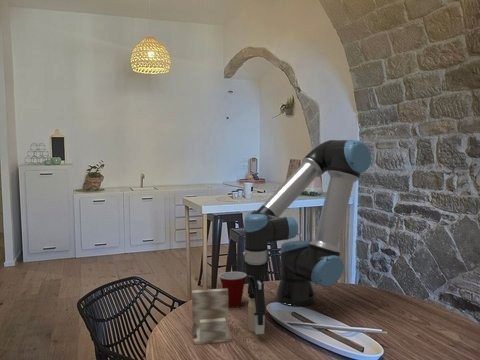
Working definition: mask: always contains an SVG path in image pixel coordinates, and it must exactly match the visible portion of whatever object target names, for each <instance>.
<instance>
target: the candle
mask: <svg viewBox="0 0 480 360" xmlns="http://www.w3.org/2000/svg"><path fill="white" fill-rule="evenodd" d="M247 303H248V304H247V319H248V320H247V327H248V328H247V329H248V331H249V332H251V333H255V315H254V313H256V306H255V299H253V300H251V301H250V302H249V301H248V302H247ZM265 316H266V315H264V330H265V326H266V325H265V324H266V323H265V322H266V321H265ZM255 334H256V333H255Z"/></svg>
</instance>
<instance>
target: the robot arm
mask: <svg viewBox="0 0 480 360" xmlns="http://www.w3.org/2000/svg"><path fill="white" fill-rule="evenodd" d="M371 158H372V157H371V152H370V150H369V148H368V146H367V144H366V143H365V142H363V141H361V140H355V139H349V140H348V139H345V140H344V139H343V140H341V139H339V140H338V139H337V140H336V139H331V140H327V141H324V142H321V143H320V144H318V145H317V146H316V147H314V148H313V149H312V150H310V151H309V153H308V154H307V155H306V156H304V158H302V160H301V164H300V165H299V166H298V167H297V168H296V170H294V172H293V173H292V174H291V175H290V176H289V177H288V178H286V180H285V181H284V182H283V183H282V184H281V185H280V186H279V187H278V189H276V190H275V191H274V193H273V194H272V195H271V196H270V197H269V198H268V199H267V200H266V201H265V202H264V203H263V204H262V205H261V206H260V207H259V208H258V209H257V210H251V211H248V212H247V214H245V217H244V221H243V222H244V225H243V226H244V227H243V233H244V235H243V237H244V239H243V241H244V252H242V255H243V256H244V261H245V262H244V273H245V274H247V276H248V285H247V295H248V303H249V302H250V301H251V300H253V299H255V306H256V313H254V315H255V335H264V334H265V329H264V315H265V316H266V315H267V313H266V312H267V311H266V303H265V301H266V300H265V289H264V288H265V283H264V281H263V279H262V277H264V276H265V275H267V274H268V259H269V258H268V255H269V254H268V243H272V242H278V241H279V242H280V241H285V242H283V243H282V244H281V246H280V253H279V254H280V281H279V283H278V287H277V290H276V295H275V296H276V298H275V299H276V300H277V302H279V303H281V304H282V303H286V304H291V305H296V306H295V307H304V306H309V305H312V304H314V302H315V301H316V294H315V291H314V288H313V284H314V285H317V286H318V285H319V286H321V287H325V288H326V287H327V288H328V287H331V286H334V285H335V283H337V282H338V281H339V280H340V279H341V277H342V275H343V273H344V268H345V267H344V264H343V260H342V259H341V257H340V255H341V250H340V248H339V242H340V239H341V234H342V231H343V226H344V222H345V219H346V214H347V210H348V207H349V202H350V198H351V194H352V191H353V187H354V183H356V182H357V181H359V180H360V177H361V174H363V173H365V172H366V171H367V170H368V169H369V168H370V165H371ZM326 172H327V173H328V175H329V182H328V186H327V189H326V192H325V193H326V194H325V197H324V202H323V205H322V209H321V213H320V217H319V221H318V224H317V229H316V232H315V236H314V239H313V240H312V241H308V240H290V239H294V238H295V237H297V235H298V232H299V225H298V222H297V220H296V219H295V218H294V217H292V216H283V217H281V216H282V214H283V213H284V212H285V211H286V210H287V209H288V208H289V207H290V206H291V204H293V203H294V201H296V200H297V198H298V197H300V195H301V194H302V193H303V192H304V191H305V190H306V189H307V187H309V185H311V184H312V182H313V181H314V180H315V179H316V178H319V177H321V176H322V175H324V173H326ZM288 240H290V241H288ZM312 283H313V284H312Z"/></svg>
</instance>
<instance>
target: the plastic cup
mask: <svg viewBox="0 0 480 360" xmlns="http://www.w3.org/2000/svg"><path fill="white" fill-rule="evenodd" d="M247 276H248V275H247V274H245V272H242V271H225V272H221V273H220V274H218V277H219V279H220V283H221V287H222V288H221V289H225V288H228V308H238V307H240V306H241V304H242V300H243V299H242V298H243V296H244V295H243V294H244V288H245V283H246V279H247Z"/></svg>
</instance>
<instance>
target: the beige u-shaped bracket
mask: <svg viewBox="0 0 480 360" xmlns="http://www.w3.org/2000/svg"><path fill="white" fill-rule="evenodd" d="M191 294H192V295H191V301H192V302H191V305H192V308H191V309H192V310H191V312H192V332H193V333H192V335H193V345H201V344H212V343H213V344H214V343H215V344H216V343H226V342H227V343H228V342H233V336H232V333H231V329H230V325H229V324H230V323H229V320H230V319H229V318H230V317H229V314H230V313H229V307H228V288H225V289H223V288H212V289H209V288H208V289H196V290H191Z"/></svg>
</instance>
